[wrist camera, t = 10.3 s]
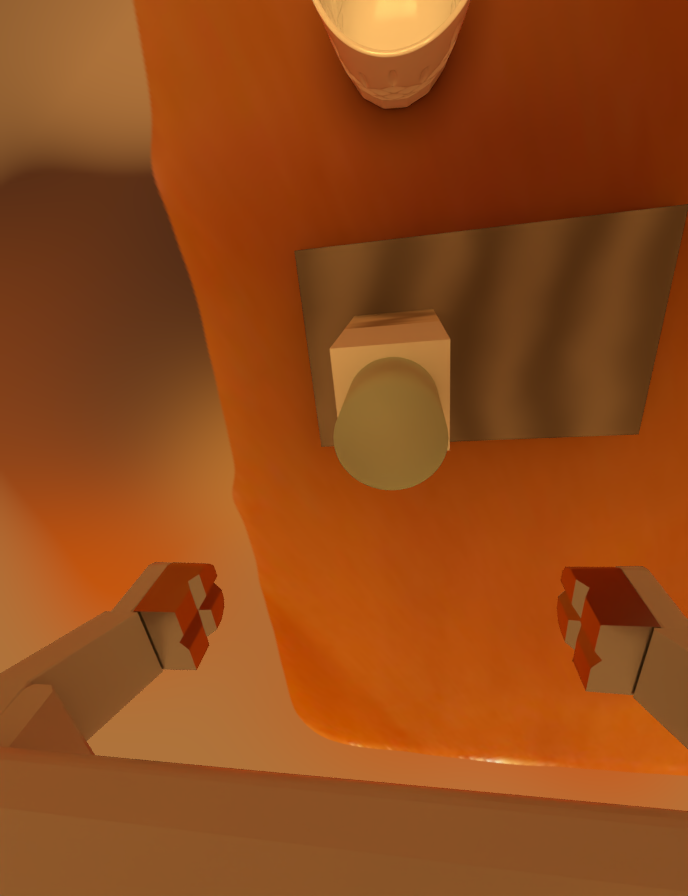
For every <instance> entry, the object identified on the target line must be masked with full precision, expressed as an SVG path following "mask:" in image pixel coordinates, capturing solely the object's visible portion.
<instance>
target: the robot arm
mask: <svg viewBox="0 0 688 896" xmlns="http://www.w3.org/2000/svg"><path fill="white" fill-rule="evenodd" d="M216 577H217V574H216V571H215V568H214V566H213V565H211V564H206V563H175V562H173V563H164V562H155V563H152V564H150V565H149V566H148V567H147V568H146V569H145V571H144V572H143V573H142V574H141V576H140V577H139V578H138V579H137V580H136V582H135V583H134V584H133V585H132V587H131V588H130V589H129V590H128V592H127V593H126V594H125V595H124V596H123V598H122V599H121V600H120V601H119V602H118V604H117V605H116V606H115V607H114V609H113V610H112V611H111V612H107V611H106V612H103V613H102V614H100V615H98V616H97V617H95V618H93V619H92V620H90V621H88V622H86V623H85V624H83V625H81V626H80V627H78V628H76V629H75V630H73V631H71V632H70V633H68V634H66V635H64V636H63V637H61V638H59V639H58V640H56V641H54V642H53V643H51V644H49V645H48V646H46V647H44V648H43V649H41V650H39V651H37V652H36V653H34V654H32V655H31V656H29V657H27V658H26V659H24V660H22V661H20V662H19V663H17V664H15V665H14V666H12V667H10V668H9V669H7V670H5V671H4V672H2V673H0V896H688V811H681V810H670V809H660V808H650V807H639V806H628V805H618V804H607V803H597V802H586V801H575V800H565V799H553V798H543V797H532V796H522V795H512V794H500V793H490V792H480V791H469V790H458V789H448V788H437V787H426V786H416V785H405V784H395V783H384V782H373V781H363V780H352V779H341V778H330V777H320V776H309V775H298V774H287V773H276V772H266V771H254V770H244V769H234V768H223V767H212V766H202V765H192V764H180V763H170V762H160V761H149V760H139V759H128V758H118V757H107V756H96V755H95V754H94V753H93V751H92V749H91V748H90V746H89V745H88V743H87V740H88V739H89V738H90V737H91V736H93V734H95V733H96V732H97V731H98V730H99V729H100V728H101V727H102V726H104V725H105V724H106V723H107V722H108V721H109V720H110V719H111V718H112V717H113V716H114V715H115V714H117V713H118V712H119V711H120V710H121V709H122V708H123V707H124V706H125V705H126V704H128V702H130V701H131V700H132V699H133V698H134V697H135V696H136V695H137V694H138V693H140V692H141V691H142V690H143V689H144V688H145V687H146V686H147V685H148V684H149V683H150V682H152V681H153V680H154V679H155V678H156V677H157V676H158V675H159V674H160V673H161V672H162V671H163V670H162V669H171V670H172V669H173V670H197V668H198V666H199V664H200V662H201V660H202V658H203V656H204V654H205V652H206V650H207V648H208V646H209V642H208V639H207V636H209V635H210V634H211V633H213V632H214V631H215V630H216V629H217V628H218V626H219V624H220V622H221V619H222V615H223V610H224V597H223V593H222V590H221V589H220V588H219V587H218V586H217V585H216V584H215V583H214V581H215V579H216ZM561 583H562V585H563V587H564V589H565V591H564V592H563V593H562V594H560V595H559V596H558V602H557V616H558V623H559V627H560V630H561V633H562V636H563V638H564V641H565V642H566V643H567V644H568V645H570V646H571V647H572V648H573V649H574V650H575V651H574V657H573V662H574V665H575V667H576V669H577V672H578V674H579V676H580V679H581V681H582V683H583V686H584V688H585V690H586V691H590V692H602V693H614V694H627V695H634V696H633V698H634V699H635V700H637V701H638V702H639V703H640V704H641V705H642V706H643V707H644V708H645V709H646V710H647V711H648V712H649V713H650V714H651V715H652V716H653V717H654V718H656V719H657V720H658V721H659V722H660V723H661V724H662V725H663V726H664V727H665V728H666V729H667V730H668V731H669V732H670V733H671V734H672V735H673V736H675V737H676V738H677V739H678V740H679V741H680V742H681V743H682V744H683V745H684V746H685V747H686V748H687V749H688V619H687V618H686V617H685V616H684V614H683V613H682V612H681V611H680V609H679V608H678V607H677V605H676V604H675V603H674V602H673V600H672V599H671V598H670V597H669V595H668V594H667V593H666V592H665V590H664V589H663V588H662V586H661V585H660V584H659V583H658V581H657V580H656V579H655V578H654V576H653V575H652V574H651V573H650V571H649V570H648V569H646V568H645V567H643V566H616V567H565V568H564V570H563V571H562V576H561Z"/></svg>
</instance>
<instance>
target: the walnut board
mask: <svg viewBox="0 0 688 896" xmlns="http://www.w3.org/2000/svg"><path fill="white" fill-rule="evenodd" d="M687 211H688V204H685V205H677V206H668V207H660V208H651V209H643V210H634V211H626V212H618V213H609V214H601V215H592V216H584V217H576V218H567V219H559V220H550V221H542V222H533V223H525V224H517V225H508V226H500V227H491V228H483V229H474V230H466V231H458V232H449V233H441V234H432V235H424V236H415V237H407V238H399V239H390V240H382V241H373V242H365V243H356V244H348V245H340V246H331V247H323V248H314V249H306V250H297V251H295V258H296V266H297V273H298V280H299V287H300V295H301V302H302V309H303V316H304V324H305V331H306V338H307V345H308V353H309V360H310V367H311V374H312V382H313V389H314V396H315V403H316V410H317V418H318V425H319V432H320V439H321V447H325V446H334V439H333V435H334V428H335V423H336V421H337V418H338V417H337V409H336V400H335V392H334V383H333V374H332V366H331V357H330V347H331V346H332V345H333V344H334V342H335V341H336V340H337V338H338V337H339V336H340V334H341V333H342V332H343V330H344V329H345V328H346V326H347V325H348V324H349V323H350V321H351V320H352V319H353V317H354V316H363V315H374V314H385V313H396V312H407V311H419V310H430V309H434V311H435V313H436V315H437V317H438V318H439V320H440V322H441V324H442V325H443V327H444V329H445V331H446V332H447V334H448V336H449V338H450V442H453V441H479V440H505V439H530V438H556V437H582V436H607V435H633V434H639V430H640V426H641V421H642V416H643V412H644V407H645V403H646V398H647V394H648V389H649V385H650V380H651V375H652V371H653V366H654V362H655V357H656V353H657V348H658V344H659V339H660V334H661V330H662V325H663V321H664V316H665V312H666V307H667V303H668V298H669V293H670V289H671V284H672V280H673V275H674V271H675V266H676V261H677V257H678V252H679V248H680V243H681V239H682V234H683V230H684V225H685V220H686V216H687Z"/></svg>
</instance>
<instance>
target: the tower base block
mask: <svg viewBox="0 0 688 896" xmlns="http://www.w3.org/2000/svg"><path fill="white" fill-rule="evenodd" d="M434 321H440V320H439V318H438V317H437V315H436V313H435V311H434V309H430V310H419V311H407V312H396V313H385V314H374V315H363V316H354V317H353V319H352V320H351V321H350V323H349V324H348V325H347V326H346V328H345V329H352V328H364V327H376V326H387V325H399V324H411V323H423V322H434Z"/></svg>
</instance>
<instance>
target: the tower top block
mask: <svg viewBox="0 0 688 896" xmlns="http://www.w3.org/2000/svg"><path fill="white" fill-rule="evenodd" d="M330 357H331V366H332V374H333V383H334V392H335V400H336V409H337V417H338V416H339V413H340V411H341V408H342V405H343V403H344V400H345V398H346V395H347V393H348V390H349V388H350V385H351V383H352V381H353V379H354V377H355V376H356V375H357V373H358V372H359V371H360V370H361V369H362V368H364V367H365V366H366V365H368V364H369V363H371V362H373V361H375V360H378V359H381V358H386V357H400V358H405V359H409V360H411V361H414V362H416V363H417V364H419V365H421V366H422V367H423V368H424V369H425V370H426V371H427V372H428V373H429V374H430V375H431V377H432V378H433V380H434V382H435V384H436V387H437V390H438V394H439V397H440V401H441V405H442V409H443V413H444V417H445V420H446V424H447V429H448V437H449V440H448V448H447V450H450V338H449V336H448V334H447V332H446V331H445V329H444V327H443V325H442V324H441V322H440V321H434V322H423V323H411V324H399V325H387V326H376V327H364V328H352V329H344V330H343V332H342V333H341V334H340V336H339V337H338V338H337V340H336V341H335V342H334V344H333V345H332V346H331V347H330Z"/></svg>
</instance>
